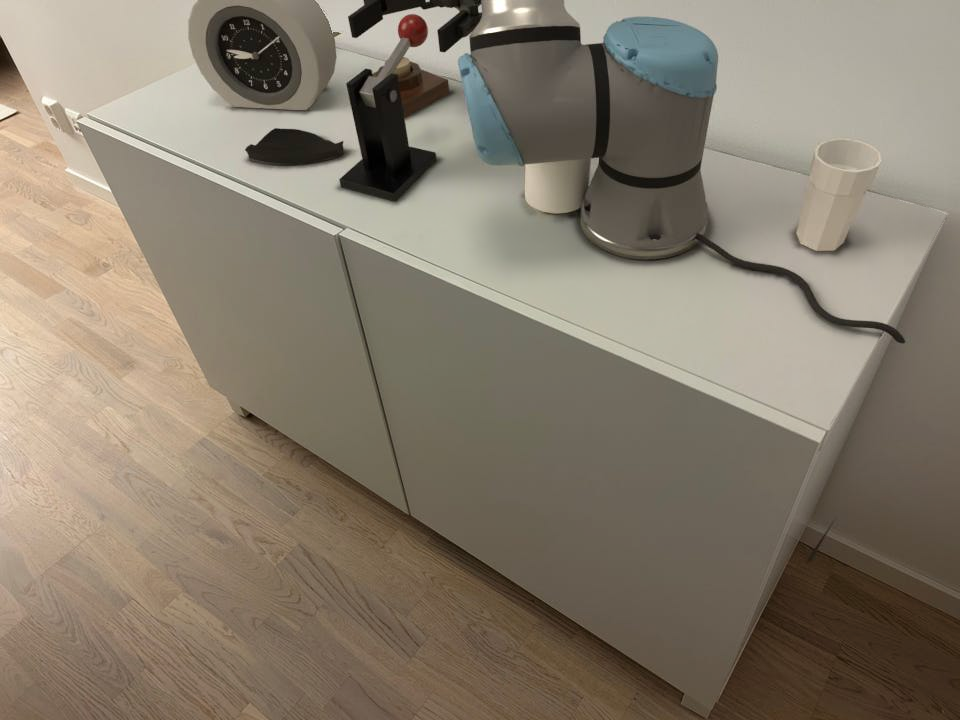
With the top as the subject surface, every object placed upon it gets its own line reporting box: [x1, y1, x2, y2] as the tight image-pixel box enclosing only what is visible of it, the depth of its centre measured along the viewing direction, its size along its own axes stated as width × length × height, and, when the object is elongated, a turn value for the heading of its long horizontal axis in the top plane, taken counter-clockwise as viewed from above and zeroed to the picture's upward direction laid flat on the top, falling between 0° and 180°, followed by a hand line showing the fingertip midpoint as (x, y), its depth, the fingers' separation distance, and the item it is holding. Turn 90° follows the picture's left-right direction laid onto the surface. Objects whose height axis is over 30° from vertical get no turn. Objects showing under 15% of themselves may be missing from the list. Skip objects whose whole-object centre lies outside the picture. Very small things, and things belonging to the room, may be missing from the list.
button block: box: [372, 60, 451, 118], centre depth 115 cm, size 12×10×4 cm
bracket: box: [338, 68, 437, 202], centre depth 96 cm, size 11×9×14 cm
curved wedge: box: [244, 127, 345, 166], centre depth 106 cm, size 8×14×2 cm, turn 68°
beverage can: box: [524, 158, 592, 214], centre depth 89 cm, size 8×8×12 cm
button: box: [384, 56, 411, 77], centre depth 113 cm, size 4×4×2 cm
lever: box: [359, 13, 429, 108], centre depth 94 cm, size 14×4×4 cm, turn 152°
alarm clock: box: [187, 0, 337, 111], centre depth 111 cm, size 21×8×20 cm, turn 77°
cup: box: [795, 137, 883, 252], centre depth 80 cm, size 7×7×11 cm
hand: (395, 34), depth 92 cm, fingers open, 13 cm apart
